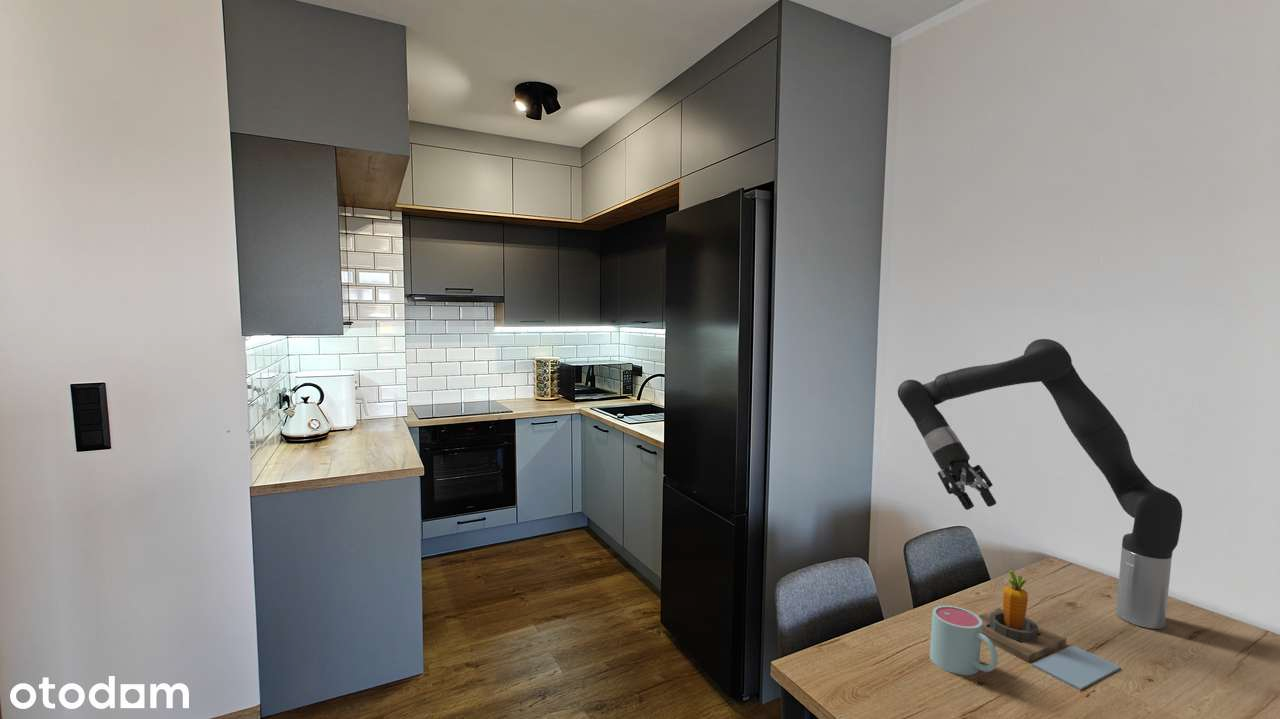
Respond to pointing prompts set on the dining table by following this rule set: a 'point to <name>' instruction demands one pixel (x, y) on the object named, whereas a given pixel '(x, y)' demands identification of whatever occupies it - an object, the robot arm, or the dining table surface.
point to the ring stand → (1020, 636)
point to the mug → (959, 641)
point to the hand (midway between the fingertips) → (981, 506)
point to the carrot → (1015, 602)
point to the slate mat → (1076, 667)
